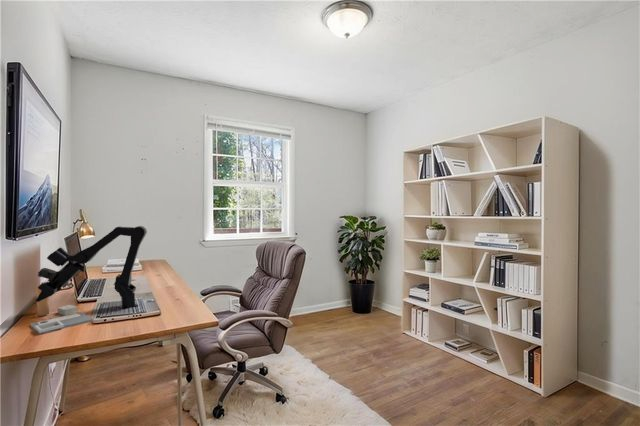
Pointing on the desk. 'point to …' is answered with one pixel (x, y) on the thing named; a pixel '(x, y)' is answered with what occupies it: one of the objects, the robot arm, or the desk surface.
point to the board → (60, 322)
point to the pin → (42, 304)
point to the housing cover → (67, 310)
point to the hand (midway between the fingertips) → (38, 299)
